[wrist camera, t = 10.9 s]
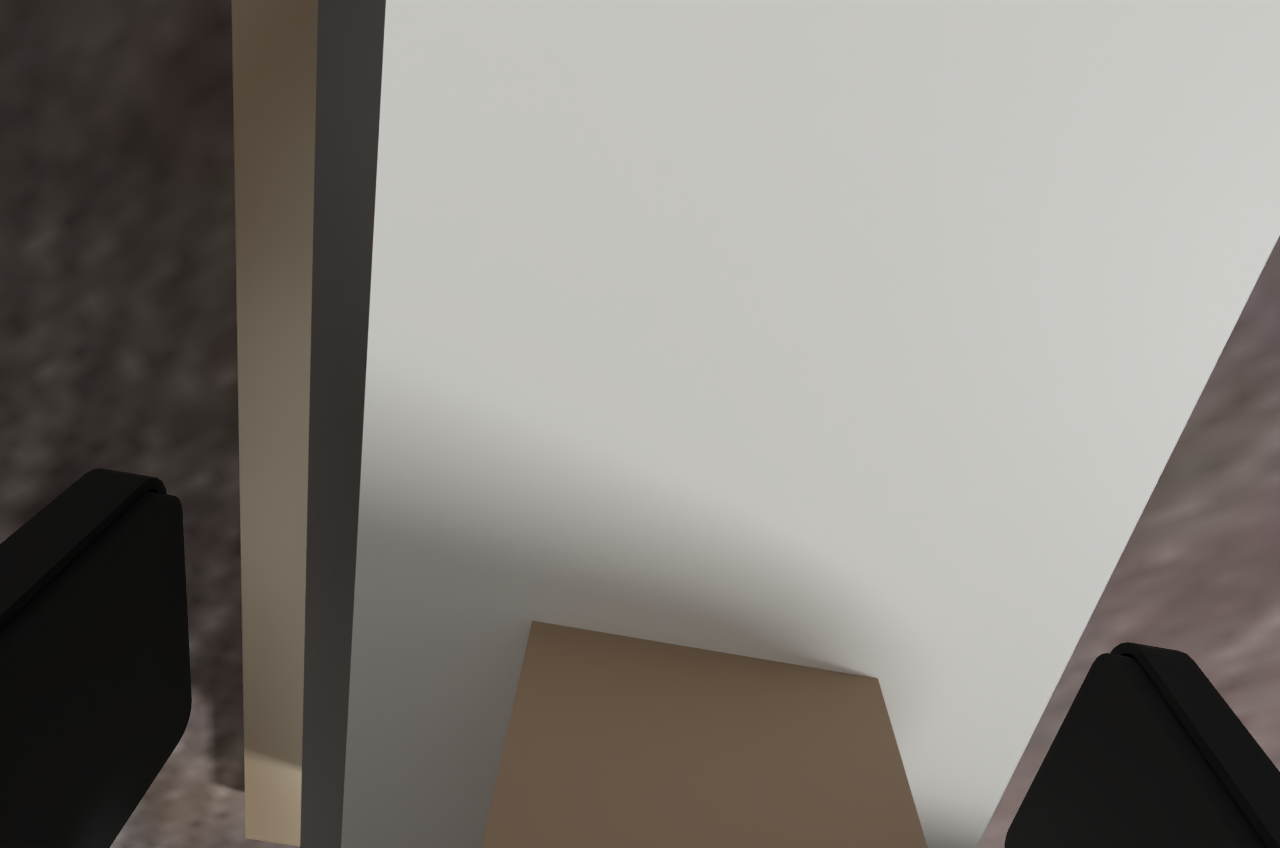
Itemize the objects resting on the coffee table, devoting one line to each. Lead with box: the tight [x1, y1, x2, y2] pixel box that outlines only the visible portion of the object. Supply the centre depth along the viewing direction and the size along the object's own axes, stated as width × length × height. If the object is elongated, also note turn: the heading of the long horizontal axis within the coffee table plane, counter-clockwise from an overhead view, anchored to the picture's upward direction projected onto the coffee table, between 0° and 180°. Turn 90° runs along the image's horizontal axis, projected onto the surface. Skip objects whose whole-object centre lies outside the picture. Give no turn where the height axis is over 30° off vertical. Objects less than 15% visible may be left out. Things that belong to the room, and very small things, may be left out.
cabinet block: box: [341, 0, 1280, 848], centre depth 10 cm, size 4×14×10 cm, turn 170°
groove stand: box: [232, 0, 386, 848], centre depth 13 cm, size 13×22×5 cm, turn 170°
